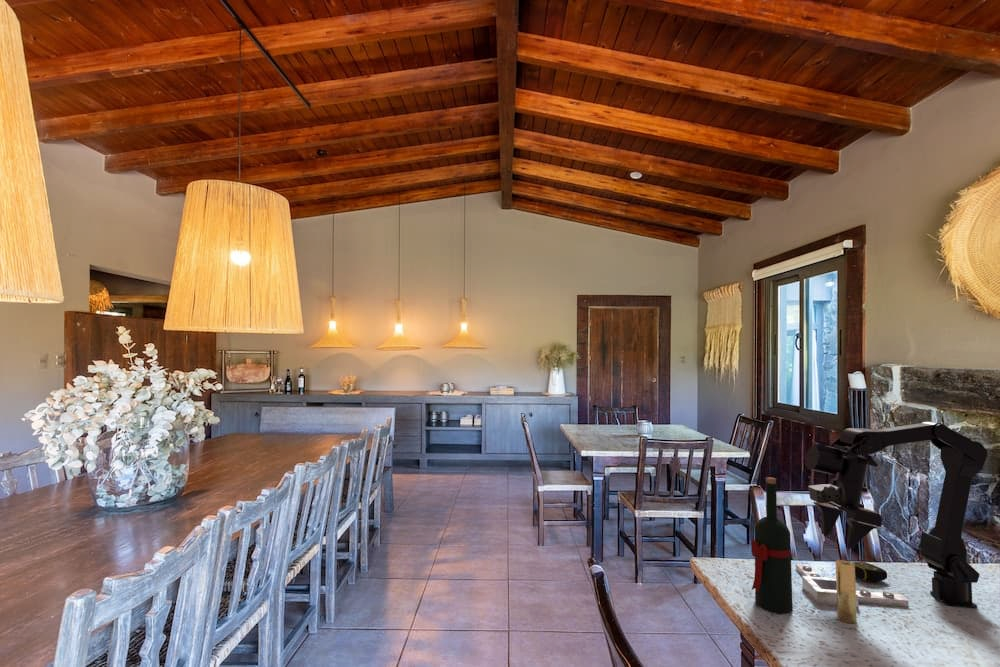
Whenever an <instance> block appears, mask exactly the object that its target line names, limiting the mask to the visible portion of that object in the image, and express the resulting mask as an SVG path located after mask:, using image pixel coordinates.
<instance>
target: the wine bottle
mask: <svg viewBox="0 0 1000 667" xmlns="http://www.w3.org/2000/svg"><path fill="white" fill-rule="evenodd" d="M765 494H766V495H765V496H766V497H765V499H766V502H765V504H766V508H765V509H766V516H763V517H762V518H759V519H758V520H757V522H755V525H754V527H753V528H754V539H752V540H751V543H750V544H751V545H750V547H751V548H750V549H751V555H752V557H754V578H753V584H752V586H751V591H753V590H754V594H755V598H754V600H755V605H756V606H758V608H760V609H761V610H764V611H766V612H768V613H772V614H778V615H788V614H791V613H792V612H793V611H794V610H793V609H794V607H793V606H794V605H793V604H794V603H793V582H792V581H793V578H792V577H793V576H792V547H791V546H792V545H791V532H790V529H789V527H788V526H787V525H786V522H784V520H783V521H782V520H781V519H780V518H778V510H777V508H778V507H777V506H778V503H777V478H775V477H771V476H769V477H765Z"/></svg>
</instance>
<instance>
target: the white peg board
mask: <svg viewBox="0 0 1000 667" xmlns="http://www.w3.org/2000/svg"><path fill="white" fill-rule="evenodd" d="M795 570H796V571H797V572H798V573H799V574H800V575H801V580H802V582H801V584H802V585H801V586H802V588H803V590H804V591H805V592H806V593H807V595H808V596H810V598H811V599H812V600H813V601H814V602H815V603H816V604H817V605H824V606H835V607H837V591H836V577H835V578H834V577H825V576H824V577H822V576H821V575H819V573H818V572H817V571H816V570H814V568H812V567H811V566H810V565H809V564H804V563H801V564H800V563H795ZM859 603H860V604H868V605H869V604H870V605H882V606H883V605H884V606H890V607H891V606H894V607H905V608H909V607H910V606H909V605H910V604H909V600H908V599H907V598H906V597H905V596H904V595H902V594H900V593H892V592H888V591H882V592H879V591H878V592H877V591H870V590H865V589H859V590H856V609H857V608H859Z"/></svg>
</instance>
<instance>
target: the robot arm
mask: <svg viewBox="0 0 1000 667" xmlns="http://www.w3.org/2000/svg"><path fill="white" fill-rule="evenodd" d="M926 441H929V442H930V443H931V445H933V446H934V447H936V449H938V450H939V451H940V455H939V456H940V457H939V459H940V461H941V463H942V467H943V468H944V477H943V483H942V487H941V494H940V499H939V504H938V508H937V514H936V519H935V524H934V528H933V529H931V531H929V533H928V532H925V531H922V532H921V536H920V537H921V538H920V542H919V544H918V546H917V547H918V548H920V555H921V556H922V558H923V560H925V562H926V564H927V567H928V568H930V569H932V570H933V571H932V572H933V577H931V591H929V594H930V595H932V596H934V597H935V598H936V599H937V600H939V601H940V602H942V603H943V604H944V605H947V606H952V607H965V608H974V609H975V608H977V609H978V604H976V603H974V602H973V587H972V586H973V585H972V584H973V583H975V584H976V583H978V581H979V578H980V573H979V572H978V571H977V570H976V569H975V568H974V567H973V566H972V565H971V564H969V563H968V561H967V560H968V559H967V558H968V555H967V554H968V552H967V548H966V546H965V542H964V540H963V537H962V533H963V528H964V523H965V517H966V513H967V508H968V503H969V498H970V492H971V488H972V482H973V479H974V478H975V477H976V476H977V475H978V474H979V473H980V472H981V471H982V470H983V469H984V467H985V464H986V461H987V458H988V450H987V449H986V447H985V446H984V445H983V444H982V443H981V442H980V441H975V440H972V439H971V438H968V437H967V436H965V435H963V434H961V433H959V432H957V431H955V430H953V429H951V428H950V427H949V426H947V425H945V424H944V423H942V422H936V421H929V420H928V421H923V422H921V423H920V422H919V423H913V424H907V425H900V426H893V427H886V428H880V429H879V428H878V429H875V428H874V429H872V428H862V427H861V428H857V427H854V428H853V427H849V428H845V429H844V430H842V432H841V434H840V436H839V437H837V439H835V440H834V441H833V442H832V443H830V444H829V445H825V444H821V443H818V442H813V444H812V447H810V448H809V449H808V450H807V451H806V453H805V455H804V464H805V467H807V468H806V469H808V470H811V471H815V472H819V473H824V474H828V475H833V476H834V475H836V477H835V478H833V477H832V478H831V479H830V480H829V483H827V484H825V483H823V484H813V485H808V486H807V487H808V493H809V499H810V500H812V501H813V504H814V505H815V506H816V507H817V508H818V510H819V512H820V517H821V524H822V531H823V534H824V535H825V536H829V535H830V534H831V532H832V531H833V529H834V527H835V525H836V523H837V521H838V519H839V517H840V516H841V514H842V511H844V512H845V514H846V516H847V517H844V520H845V521H846V523H847V524H848V529H847V539H846V547H847V548H848V549H851V550H852V549H854V548H855V547H856V546H857V545H858V544H859V542H861V541H862V540H863V538H864V537H865V536H867V535H868V534H869V533H871V532H872V531H873V530H875V529H877V528H878V527H879V528H881V527H882V525H883V520H884V518H883V517H882V515H881V514H880V513H878V512H875V511H874V510H871V509H868V508H865V504H863V503H862V501H861V500H862V496H863V493H868V488H867V487H865V482H866V476H867V470H868V466H872V467H874V468H875V467H878V466H879V464H878V463H877V462H876V460H874V459H873V456H872V454H876V453H879V452H882V451H884V449H886V448H888V447H891V446H899V445H904V444H906V445H907V444H912V443H918V442H926ZM845 455H846V456H845Z"/></svg>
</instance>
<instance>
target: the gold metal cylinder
mask: <svg viewBox="0 0 1000 667" xmlns="http://www.w3.org/2000/svg"><path fill="white" fill-rule="evenodd" d="M835 578H836V591H837V606H836V618H837V620H838V621H840V622H842V623H844V624H849V625H855V624H857V622H858V621H857V608H856V591H857V589H856V588H857V587H856V585H857V584H856V577H855V564H854V563H853V562H852V561H849V560H845V559H844V560H843V559H836V560H835Z"/></svg>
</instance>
